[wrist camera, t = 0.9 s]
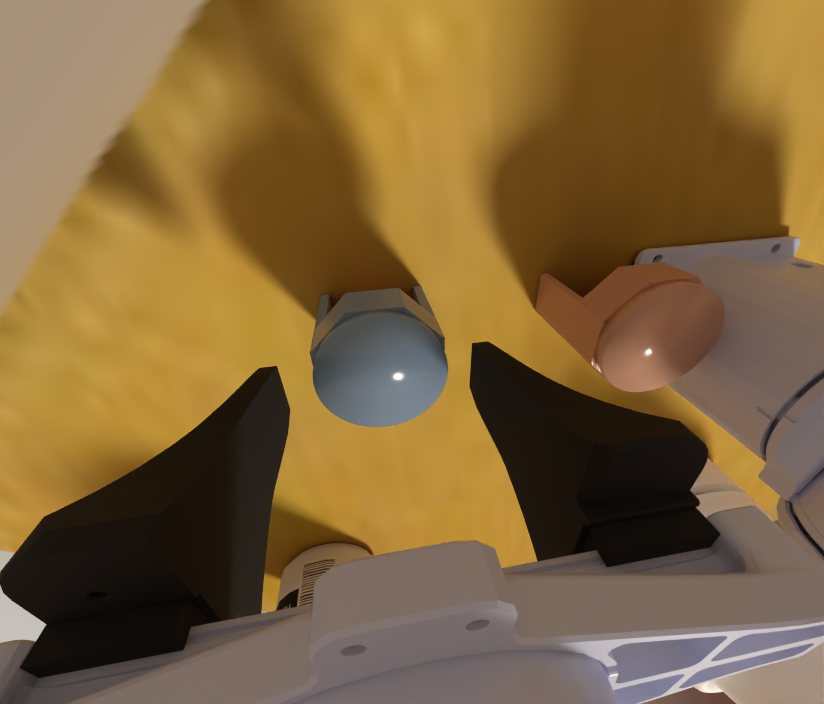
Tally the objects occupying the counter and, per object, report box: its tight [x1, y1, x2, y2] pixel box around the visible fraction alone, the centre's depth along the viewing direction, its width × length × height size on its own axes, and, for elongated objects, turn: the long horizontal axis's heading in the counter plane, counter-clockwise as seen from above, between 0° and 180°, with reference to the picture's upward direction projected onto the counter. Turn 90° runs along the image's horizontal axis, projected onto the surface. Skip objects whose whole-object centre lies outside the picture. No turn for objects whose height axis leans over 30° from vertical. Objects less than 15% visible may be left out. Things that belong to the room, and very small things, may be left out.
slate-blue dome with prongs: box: [310, 286, 448, 427], centre depth 15 cm, size 5×5×6 cm
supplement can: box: [276, 543, 372, 611], centre depth 24 cm, size 8×8×15 cm
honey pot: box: [690, 458, 824, 704], centre depth 25 cm, size 13×13×18 cm
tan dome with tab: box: [535, 262, 725, 392], centre depth 17 cm, size 5×5×6 cm
